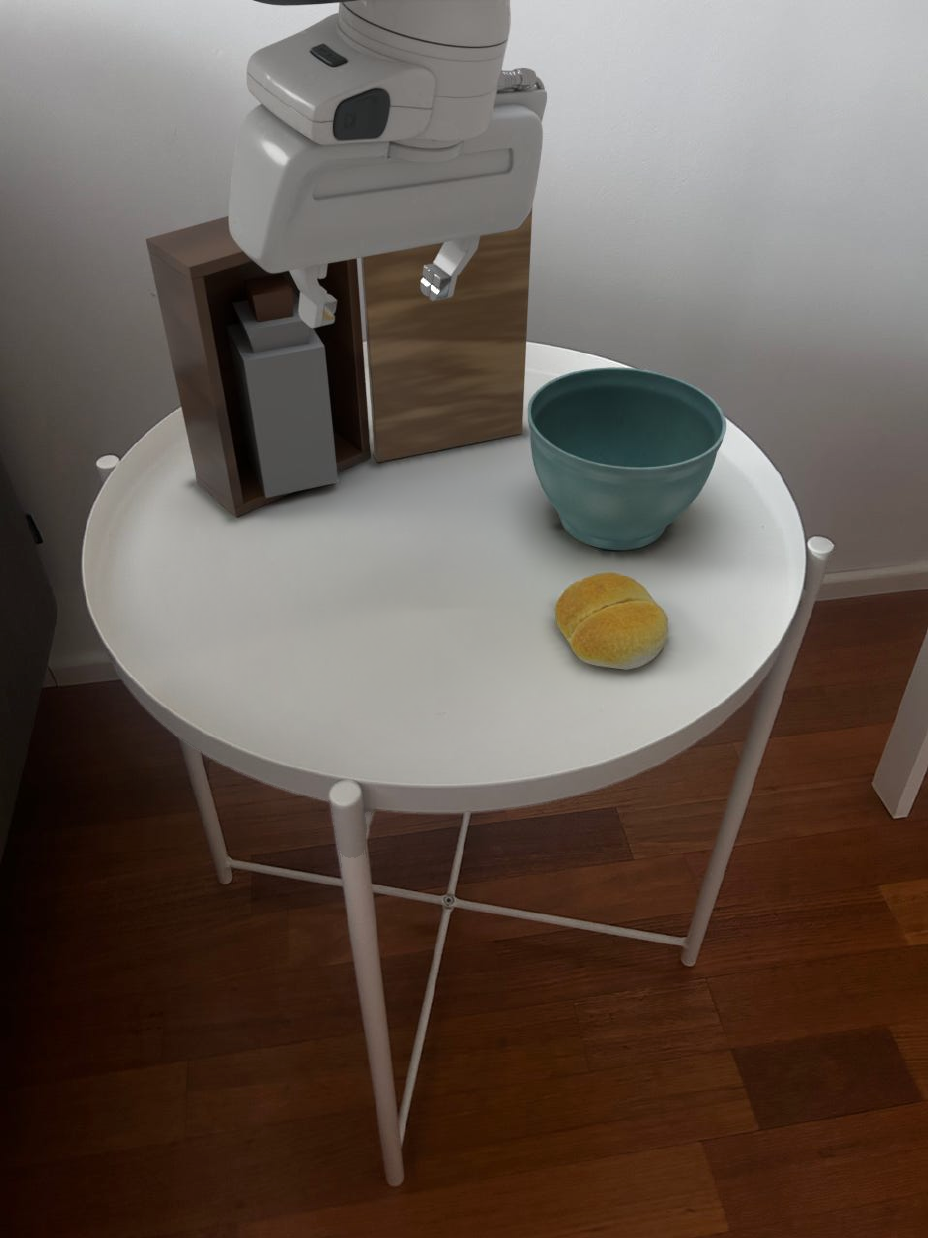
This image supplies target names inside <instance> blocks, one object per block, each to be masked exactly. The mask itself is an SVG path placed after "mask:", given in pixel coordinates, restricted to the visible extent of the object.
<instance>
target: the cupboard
mask: <svg viewBox="0 0 928 1238" xmlns="http://www.w3.org/2000/svg"><path fill="white" fill-rule="evenodd" d="M145 243H146V248H147V251H148V256H149V262H150V266H151V272H152V275H153V280H154V281H153V282H154V285H155V289H156V295H157V299H158V304H159V310H160V313H161V318H162V323H163V328H164V332H165V338H166V341H167V347H168V351H169V355H170V361H171V365H172V370H173V375H174V379H175V384H176V388H177V389H176V390H177V393H178V398H179V403H180V407H181V413H182V418H183V421H184V426H185V432H186V435H187V440H188V444H189V449H190V454H191V459H192V464H193V469H194V473H195V479H196V483H197V485H198V486H200V487H201V488H202V489H203V490H204V491H205V492H207V493H208V494H209V495H210V497H212V498H213V499H214V500H215V501H217V502H218V503H219V504H220V505H221V506H222V507H224V509H225V510H227V512H228V513H230V514H232V515H233V516H234V517H235V518H238V517H240V516H243V515H245V514H247V513H249V512H252V511H254V510H256V509H259V508H261V507H263V506H266V505H268V504H270V503H272V502H275V501H277V500H279V499H281V498H283V497H286V496H288V495H290V494H293V493H294V492H291V493H287V494H282V495H278V496H273V497H269V498H266V497H265V495H264V493H263V490H262V488H261V486H260V483H259V481H258V479H257V476H256V474H255V472H254V470H253V467H252V465H251V463H250V460H249V456H248V450H247V444H246V438H245V432H244V426H243V420H242V415H241V409H240V403H239V397H238V391H237V385H236V379H235V373H234V367H233V361H232V355H231V350H230V344H229V338H228V332H227V326H228V325H234V324H240V322H239V319H238V317H237V314H236V312H235V309H234V307H233V304H232V303H233V302H239V301H246V300H248V297H247V292H246V288H245V284H244V280H246V279H252V278H258V277H265V276H271V275H277V274H283V276H284V277H285V279H286V280H287V282H288V284H289V285H290V287H291V288H292V293H294V292H295V294H296V295H297V297H298V298H299V299H300V290H299V289H298V287H297V286H296V284H295V282H294V280H293V278H292V276H291V274H290V272H289V271H285V272H280V273H269V272H267V271H265V270H264V269H262V268H261V267H260V266H259V265H258V264H256V263H255V262H254V261H253V260H252V259H250V258H249V257H248V256H247V255H246V254H245V253H244V252H243V251H242V250H241V249H240V247H239V246H238V245H237V244H236V242H235V241H234V239H233V238H232V236H231V233H230V230H229V215H226V216H223V217H219V218H216V219H211V220H209V221H205V222H202V223H198V224H194V225H190V226H188V227H184V228H183V227H182V228H179V229H176V230H172V231H169V232H165V233H161V234H158V235H155V236H151V237H147V238H145ZM317 281H318V283H319V285H320V286H321V287H322V288H324V289H325V290H326V291H327V294H330V295H332V296H333V297H334V298H335V299H336V300H337V307H336V311H335V313H334V316H335V322H334V323H333V324H330V325H326V326H322V327H316V328H313V329H314V331H315V332H316V334H317V336H318V337H319V339H320V340H321V342H322V344H323V345H324V347H325V356H326V366H327V376H328V386H329V396H330V406H331V416H332V426H333V436H334V446H335V456H336V466H337V474H338V473H341V472H342V471H344V470H347V469H349V468H351V467H354V466H356V465H358V464H361V463H363V462H365V461H367V460H370V459H371V458H372V449H371V437H370V436H371V435H370V422H369V408H368V407H369V406H368V395H367V382H366V381H367V380H366V379H367V378H366V367H365V365H366V364H365V353H364V339H363V324H362V323H363V322H362V310H361V298H360V297H361V296H360V285H359V268H358V258H356V259H350V260H345V261H339V262H334V263H329V264H328V266H327V273H326V277H325V278H322V279H319V278H317Z"/></svg>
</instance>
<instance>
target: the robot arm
mask: <svg viewBox="0 0 928 1238" xmlns="http://www.w3.org/2000/svg"><path fill="white" fill-rule="evenodd" d="M253 1H254V2H257V3H261V4H264V5H271V6H281V7H282V6H284V7H285V6H311V5H327V4H338V12H337V13H333V14H331V15H328V16H326V17H325V18H323V19H321V20H320V21H318V22H316V23H314V24H313V25H311V26H309V27H307V28H305V29H303V30H301V31H299V32H297V33H294V34H292V35H290V36H288V37H285V38H283V39H281V40H278V41H276V42H274V43H272V44H268V45H266V46H264V47H262V48H260V49H258V50H256V51H255V52H253V54H251V56H250V57H249V59H248V62H247V65H246V87H247V90H248V92H249V93H250V94H251V95H252V96H253V97H254V98H255V99H256V100H257V101H258V102H259V104H258V105H257V106H254V108H252V109H251V110H250V112H249V113H247V115H246V116H245V118H244V120H243V121H242V124H241V126H240V128H239V131H238V134H237V138H236V142H235V148H234V154H233V161H232V168H231V176H230V177H231V178H230V187H229V198H228V199H229V200H228V216H229V230H230V233H231V236H232V238H233V239H234V241H235V242H236V244H237V245H238V246H239V247H240V249H241V250H242V251H243V252H244V253H245V254H246V255H247V256H248V257H249V258H250V259H252V260H253V261H254V262H255V263H256V264H258V265H259V266H260V267H261V268H262V269H264V270H265V271H267V272H269V273H280V272H285V271H289V272H290V274H291V276H292V278H293V280H294V282H295V284H296V286H297V287H298V289H299V290H300V299H299V309H298V311H299V316H300V318H301V320H302V321H303V322H305V323H306V324H307V325H308V326H309V327H310V328H316V327H322V326H326V325H330V324H333V323H334V322H335V316H334V313H335V311H336V307H337V300H336V299H335V298H334V297H333V296H332V295H330V294H327V291H326V290H325V289H324V288H322V287H321V286H320V285H319V283H318V281H317V278H319V279H322V278H325V277H326V273H327V266H328V264H329V263H334V262H339V261H345V260H350V259H356V258H357V259H361V257H367V256H372V255H378V254H383V253H389V252H394V251H400V250H405V249H411V248H416V247H422V246H427V245H433V244H438V243H443V242H444V244H443V246H442V247H441V249H440V251H439V253H438V255H437V257H436V258H435V260H434V262H433V264H428V265H424V267H423V272H422V276H423V279H422V280H421V282H420V289H421V292H422V293H423V294H424V295H426V296H428V297H429V299H430V300H432V301H436V300H441V299H446V298H451V297H452V296H453V294H454V289H455V285H456V280H457V276H458V275H459V274H460V273H461V271H462V270H463V269H464V267H465V266H466V264H467V263H468V262H469V260H470V259H471V257H472V256H473V255H474V253H475V252H476V250H477V248H478V244H479V240H480V236H482V235H487V234H493V233H498V232H504V231H509V230H514V229H517V228H519V226H520V225H521V224H522V223H523V222H524V220H525V219H526V217H527V216H528V215H529V213H530V211H531V208H532V209H533V206H532V205H533V203H534V200H535V195H536V190H537V185H538V179H539V172H540V166H541V159H542V152H543V140H544V130H543V128H544V127H543V123H542V122H543V118H544V115H545V110H546V107H547V104H548V103H547V102H548V92H547V90H546V87H545V84H544V83H543V81H542V79H541V78H540V77H538V76H537V73H536V72H535V70H534V69H531V68H527V67H518V68H514V69H512V70H503V66H504V65H503V64H504V60H505V56H506V51H507V48H508V42H509V39H510V31H511V24H512V16H511V15H512V14H511V13H512V12H511V0H253Z"/></svg>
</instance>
